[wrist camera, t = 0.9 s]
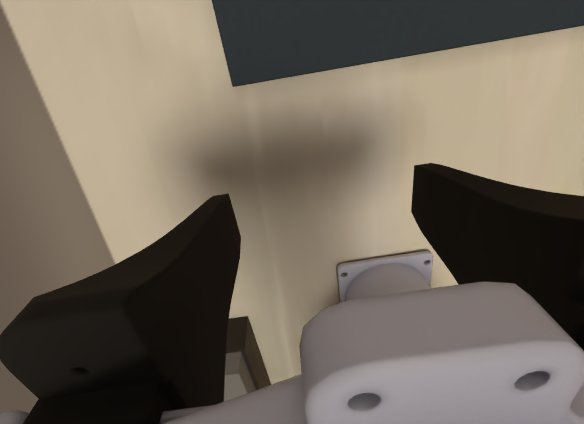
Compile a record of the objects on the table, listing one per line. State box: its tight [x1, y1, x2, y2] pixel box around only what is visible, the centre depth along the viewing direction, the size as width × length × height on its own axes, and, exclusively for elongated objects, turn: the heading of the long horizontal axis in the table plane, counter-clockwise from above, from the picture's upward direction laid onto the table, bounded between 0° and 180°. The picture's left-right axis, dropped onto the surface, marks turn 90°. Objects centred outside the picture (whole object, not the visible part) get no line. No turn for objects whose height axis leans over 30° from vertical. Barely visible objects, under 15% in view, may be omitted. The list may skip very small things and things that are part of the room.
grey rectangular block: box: [224, 317, 271, 402], centre depth 30 cm, size 12×4×6 cm, turn 9°
